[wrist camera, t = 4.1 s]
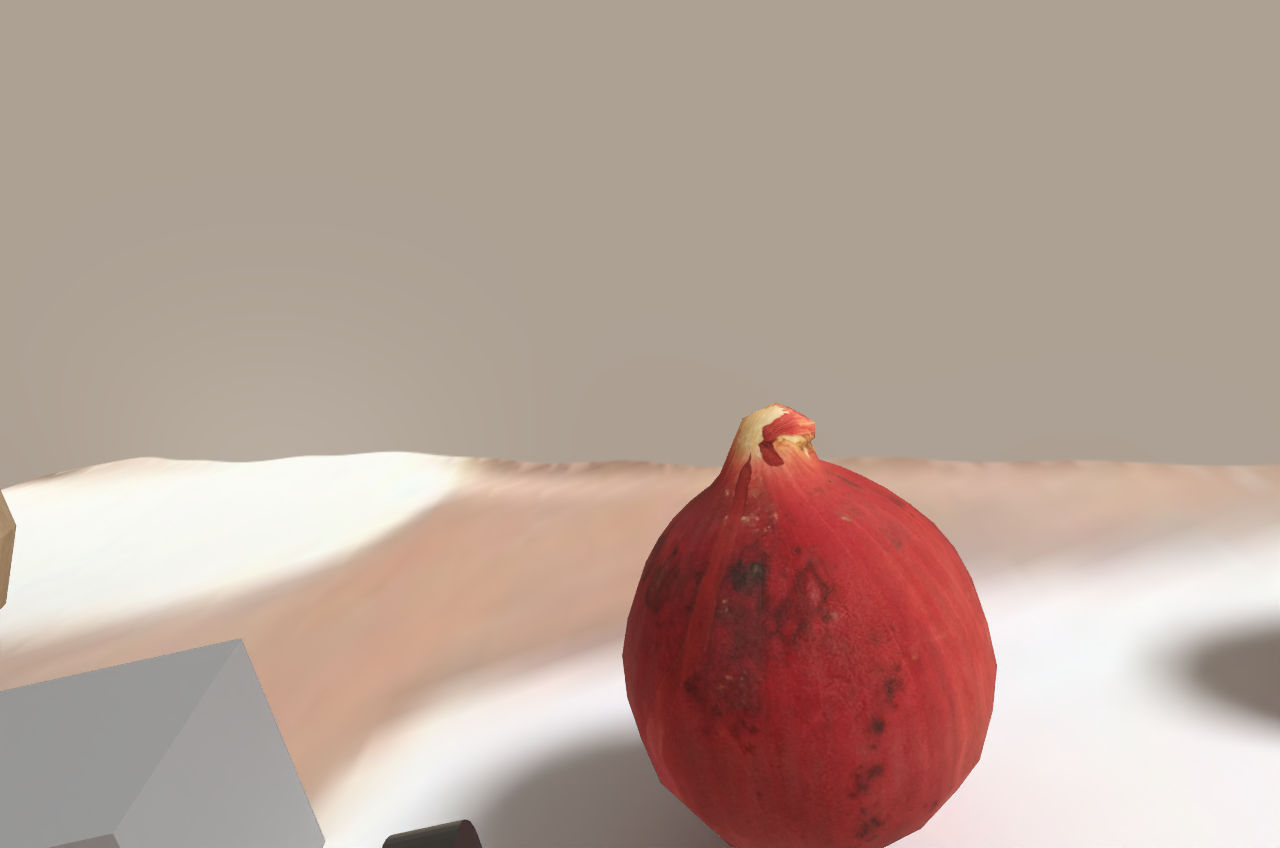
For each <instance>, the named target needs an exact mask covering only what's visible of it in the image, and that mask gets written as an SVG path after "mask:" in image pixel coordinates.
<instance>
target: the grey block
mask: <svg viewBox="0 0 1280 848" xmlns="http://www.w3.org/2000/svg"><path fill="white" fill-rule="evenodd" d="M324 843H325V839H324V836H323V834H322V831H321V829H320V827H319V824H318V822H317V819H316V817H315V815H314V812H313V810H312V807H311V805H310V802H309V800H308V798H307V795H306V793H305V790H304V788H303V786H302V783H301V781H300V778H299V776H298V773H297V771H296V769H295V766H294V764H293V761H292V759H291V757H290V754H289V752H288V749H287V747H286V745H285V742H284V740H283V737H282V735H281V732H280V730H279V728H278V725H277V723H276V720H275V718H274V716H273V713H272V711H271V708H270V706H269V703H268V701H267V699H266V696H265V694H264V691H263V689H262V687H261V684H260V682H259V679H258V677H257V674H256V672H255V670H254V667H253V665H252V662H251V660H250V658H249V655H248V653H247V650H246V648H245V646H244V643H243V641H242V638H241V639H236V640H231V641H227V642H222V643H218V644H213V645H209V646H204V647H200V648H195V649H191V650H186V651H182V652H177V653H172V654H168V655H163V656H159V657H154V658H150V659H145V660H141V661H136V662H132V663H127V664H122V665H118V666H113V667H109V668H104V669H100V670H95V671H91V672H86V673H82V674H77V675H72V676H68V677H63V678H59V679H54V680H50V681H45V682H41V683H36V684H32V685H27V686H23V687H18V688H13V689H9V690H4V691H0V848H323V846H324Z"/></svg>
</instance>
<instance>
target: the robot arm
mask: <svg viewBox="0 0 1280 848" xmlns="http://www.w3.org/2000/svg"><path fill="white" fill-rule="evenodd" d="M382 848H482V846H481V843H480V840H479V838H478V835H477V832H476V830H475V828H474V826H473V825H472V823H471V822H470V821H468V820H460V821H455V822H451V823H446V824H441V825H437V826H432V827H427V828H423V829H418V830H413V831H409V832H404V833H399V834H395V835H391V836H389V837H388V838H387V839H386V841H385V842H384V844H383V847H382Z"/></svg>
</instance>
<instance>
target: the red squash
mask: <svg viewBox="0 0 1280 848" xmlns="http://www.w3.org/2000/svg"><path fill="white" fill-rule="evenodd" d="M814 438H815V423H814V422H813V421H811V420H810V419H808V418H807V417H806V416H804V415H802V414H800V413H798V412H797V411H795V410H793V409H791V408H789V407H786V406H783V405H780V404H777V403H772V404H771V405H770V406H768V407H766V408H765V409H762V410H758V411H756V412H754V413H752V414H750V415H749V416H747V417H745V418H743V419H742V422H741V424H740V426H739V429H738V432H737V434H736V436H735V438H734V441H733V443H732V446H731V448H730V451H729V453H728V456H727V458H726V461H725V463H724V466H723V468H722V470H721V473H720V474H719V476H718V477H717V478H716V479H715V481H714V482H713V483H712V484H711V485H710V486H709V487H708V488H706V489H705V490H704V491H702V492H701V493H700V494H699V495H697V496H696V497H695V498H694V499H692V500H691V501H690V502H689V503H688V504H687V505H686V506H685V507H684V508H683V509H682V510H681V511H680V512H679V513H678V514H677V515H676V516H675V517H674V518H673V519H672V521H671V522H670V523H669V525H668V526H667V528H666V529H665V530H664V532H663V533H662V535H661V536H660V537H659V539H658V541H657V542H656V544H655V546H654V548H653V550H652V552H651V553H650V555H649V557H648V559H647V561H646V563H645V566H644V569H643V572H642V575H641V578H640V581H639V584H638V587H637V591H636V594H635V597H634V600H633V603H632V607H631V610H630V613H629V616H628V621H627V627H626V634H625V641H624V647H623V654H622V657H623V666H624V674H625V682H626V691H627V698H628V701H629V704H630V707H631V710H632V713H633V715H634V718H635V721H636V724H637V727H638V730H639V733H640V736H641V739H642V741H643V744H644V746H645V748H646V750H647V753H648V755H649V757H650V759H651V762H652V764H653V766H654V769H655V771H656V773H657V775H658V778H659V780H660V782H661V783H662V784H663V785H664V786H665V787H666V788H667V789H668V790H669V791H671V792H672V793H673V794H674V795H675V796H676V797H677V798H678V799H679V800H680V801H681V802H683V803H684V804H685V805H686V806H687V807H688V808H689V809H690V810H691V811H692V812H693V813H695V814H696V815H697V816H698V817H699V818H700V819H701V820H702V821H703V822H705V823H706V824H707V825H708V826H709V827H710V828H711V829H712V830H713V831H715V832H716V833H717V834H718V835H719V836H720V837H721V838H722V839H723V840H725V841H726V842H727V843H728V844H729V845H730V846H731V847H734V848H884V847H886V846H888V845H890V844H892V843H894V842H896V841H898V840H900V839H902V838H904V837H905V836H907V835H909V834H911V833H913V832H915V831H917V830H919V829H921V828H922V827H923V826H924V825H925V824H926V823H927V822H928V821H929V819H930V818H931V817H932V816H933V815H934V814H935V813H936V812H937V811H938V810H939V809H940V808H941V807H942V806H943V805H944V803H945V802H946V801H947V800H948V799H949V798H950V797H951V796H952V795H953V794H954V793H955V792H956V791H957V789H958V788H959V787H960V785H961V784H962V783H963V781H964V780H965V779H966V777H967V776H968V775H969V773H970V772H971V771H972V769H973V768H974V767H975V765H976V764H977V763H978V761H979V760H980V756H981V753H982V749H983V745H984V741H985V738H986V734H987V730H988V726H989V722H990V719H991V715H992V711H993V702H994V691H995V681H996V670H997V664H996V659H995V655H994V650H993V646H992V641H991V637H990V632H989V628H988V623H987V621H986V618H985V615H984V612H983V609H982V606H981V603H980V601H979V598H978V595H977V592H976V589H975V586H974V584H973V581H972V578H971V576H970V575H969V573H968V571H967V569H966V567H965V566H964V564H963V562H962V560H961V558H960V556H959V555H958V553H957V551H956V549H955V547H954V546H953V545H952V544H951V543H950V542H949V540H948V539H947V538H946V537H945V536H944V535H943V533H942V532H941V531H940V530H939V529H938V528H937V526H936V525H935V524H934V523H933V522H932V521H930V520H929V519H928V518H927V517H925V516H924V515H923V514H922V513H921V512H919V511H918V510H917V509H916V508H914V507H913V506H912V505H911V504H909V503H908V502H906V501H905V500H903V499H902V498H900V497H899V496H897V495H896V494H894V493H893V492H891V491H890V490H888V489H887V488H885V487H883V486H881V485H879V484H877V483H875V482H873V481H871V480H869V479H867V478H866V477H864V476H862V475H859V474H857V473H855V472H853V471H850V470H848V469H846V468H843V467H841V466H838V465H835V464H831V463H828V462H825V461H822V460H819V459H818V457H817V454H816V452H815V450H814V448H813V446H812V444H811V440H812V439H814Z"/></svg>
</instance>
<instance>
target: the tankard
mask: <svg viewBox="0 0 1280 848" xmlns="http://www.w3.org/2000/svg"><path fill="white" fill-rule="evenodd" d="M15 531H16V524H15V522H14V519H13V517H12V515H11V513H10V510H9V508H8V506H7V503H6V501H5V499H4V497H3V494H2V492H1V490H0V609H1V608H2V607H3V606H4V605H5V604H6V599H7V591H8V584H9V576H10V568H11V561H12V553H13V546H14V538H15Z"/></svg>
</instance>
